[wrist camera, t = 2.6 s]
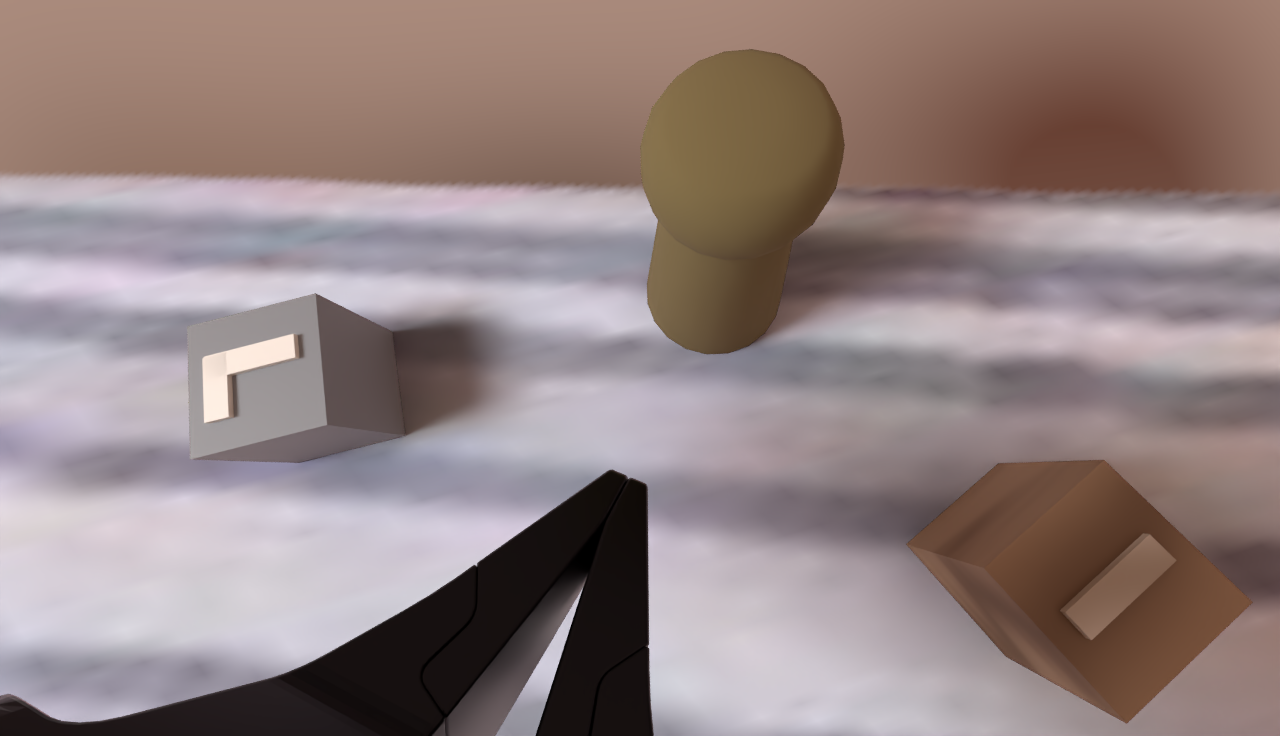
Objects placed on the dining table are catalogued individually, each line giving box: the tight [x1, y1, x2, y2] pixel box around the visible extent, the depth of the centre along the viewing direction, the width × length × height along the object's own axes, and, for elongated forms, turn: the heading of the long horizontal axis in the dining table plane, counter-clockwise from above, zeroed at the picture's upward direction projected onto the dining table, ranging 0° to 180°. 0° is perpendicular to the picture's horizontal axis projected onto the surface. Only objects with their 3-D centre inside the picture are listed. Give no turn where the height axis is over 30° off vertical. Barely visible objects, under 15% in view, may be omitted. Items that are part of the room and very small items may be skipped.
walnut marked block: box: [906, 460, 1252, 723], centre depth 16 cm, size 5×5×5 cm
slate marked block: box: [187, 293, 405, 463], centre depth 20 cm, size 5×5×5 cm
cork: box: [640, 49, 844, 354], centre depth 16 cm, size 6×6×11 cm
